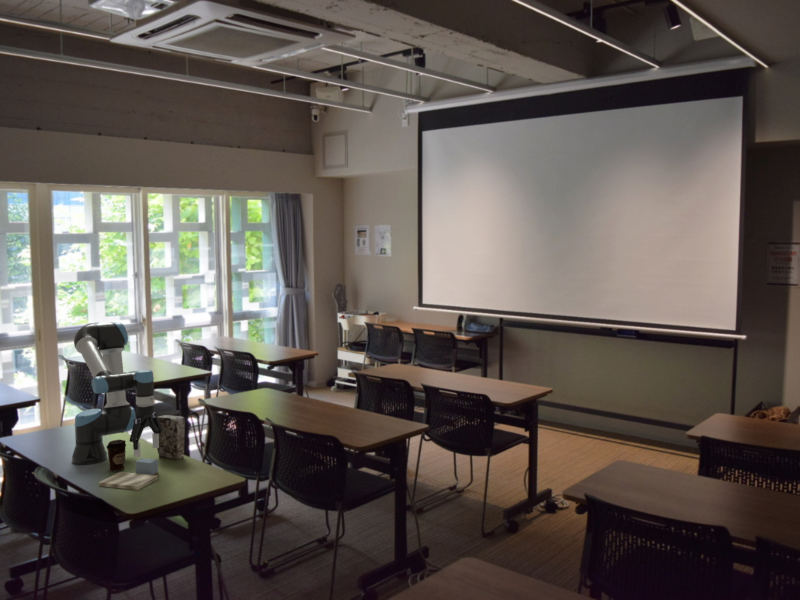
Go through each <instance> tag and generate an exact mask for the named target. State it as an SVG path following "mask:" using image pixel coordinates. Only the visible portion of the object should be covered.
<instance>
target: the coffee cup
mask: <svg viewBox="0 0 800 600" xmlns="http://www.w3.org/2000/svg"><path fill="white" fill-rule="evenodd" d="M126 442H127V441H126V440H124V439H115V440H111V441H109V442H108V443H107V445H106V448H105V449H106V451H107V460H108V464H109V465H108V467H109V471H110V472H122V471H123V470H125V462H126V447H127V444H126Z"/></svg>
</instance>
